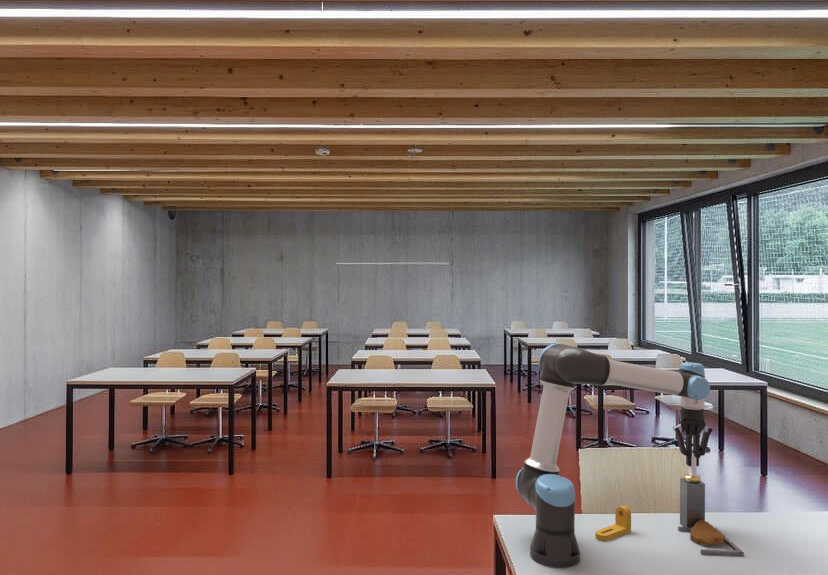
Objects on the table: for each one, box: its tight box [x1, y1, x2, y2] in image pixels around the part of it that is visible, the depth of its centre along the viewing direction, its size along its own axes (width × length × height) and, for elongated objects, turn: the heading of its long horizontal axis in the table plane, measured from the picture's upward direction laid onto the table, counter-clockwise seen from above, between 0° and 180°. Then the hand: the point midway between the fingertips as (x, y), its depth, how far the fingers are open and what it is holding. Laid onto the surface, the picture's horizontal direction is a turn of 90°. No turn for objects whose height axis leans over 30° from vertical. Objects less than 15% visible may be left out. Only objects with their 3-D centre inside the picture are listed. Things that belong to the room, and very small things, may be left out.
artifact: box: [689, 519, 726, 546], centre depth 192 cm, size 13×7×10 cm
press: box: [677, 477, 745, 557], centre depth 193 cm, size 13×25×16 cm, turn 177°
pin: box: [683, 473, 702, 483], centre depth 202 cm, size 5×5×8 cm
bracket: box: [594, 505, 632, 542], centre depth 196 cm, size 15×4×8 cm, turn 126°
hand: (692, 475), depth 203 cm, fingers closed
